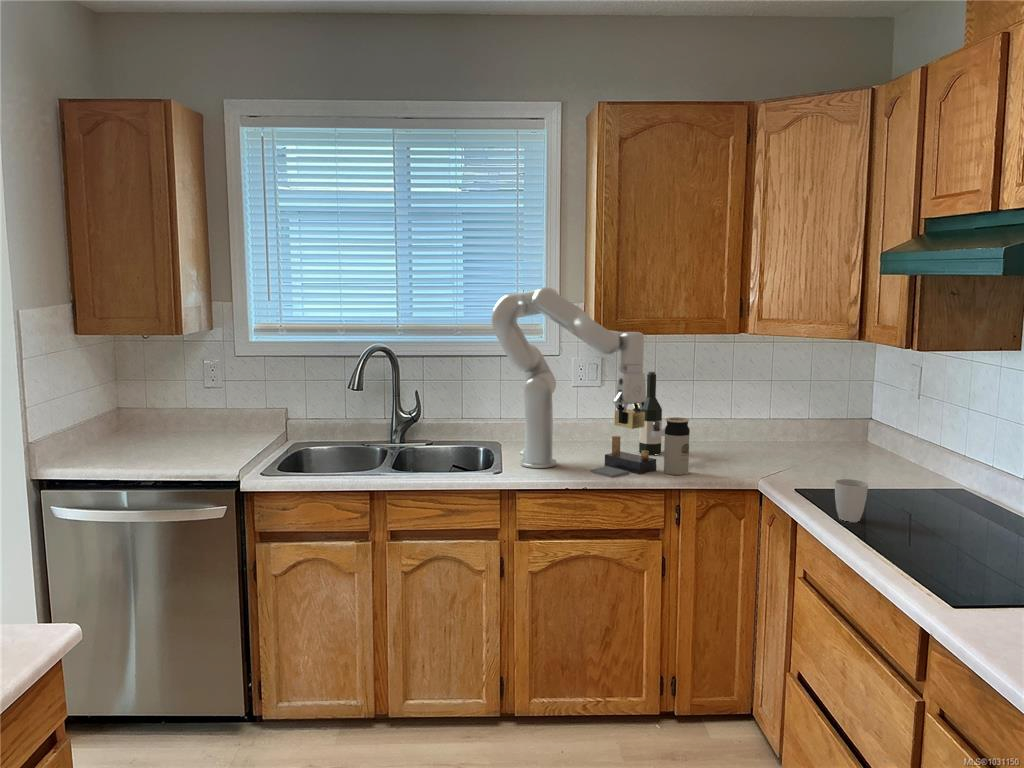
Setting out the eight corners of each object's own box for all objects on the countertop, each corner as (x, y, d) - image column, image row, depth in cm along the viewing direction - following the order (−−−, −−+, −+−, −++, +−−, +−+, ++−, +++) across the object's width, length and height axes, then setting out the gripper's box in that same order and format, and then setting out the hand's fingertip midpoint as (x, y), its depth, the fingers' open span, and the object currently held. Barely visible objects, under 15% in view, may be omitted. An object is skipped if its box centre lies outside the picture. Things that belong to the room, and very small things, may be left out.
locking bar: (650, 436, 278) (650, 422, 278) (680, 430, 288) (680, 417, 288) (655, 437, 276) (656, 423, 276) (685, 431, 286) (685, 418, 286)
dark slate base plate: (604, 465, 275) (605, 437, 274) (620, 462, 280) (621, 434, 279) (639, 474, 263) (640, 444, 261) (656, 470, 268) (656, 441, 266)
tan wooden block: (614, 425, 271) (614, 410, 270) (626, 423, 274) (627, 408, 274) (632, 428, 265) (632, 413, 264) (644, 427, 268) (644, 412, 268)
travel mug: (658, 471, 267) (660, 418, 265) (678, 469, 270) (679, 416, 268) (673, 476, 260) (674, 421, 257) (693, 474, 263) (694, 420, 261)
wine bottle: (635, 454, 294) (637, 372, 290) (642, 449, 301) (644, 370, 297) (657, 456, 290) (659, 373, 286) (664, 452, 297) (666, 371, 293)
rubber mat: (590, 471, 266) (590, 469, 266) (606, 468, 271) (606, 466, 271) (612, 477, 259) (612, 475, 259) (628, 473, 264) (628, 471, 264)
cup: (857, 515, 217) (859, 478, 216) (871, 524, 209) (873, 486, 208) (827, 515, 217) (829, 479, 215) (840, 524, 209) (842, 486, 207)
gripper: (622, 371, 259) (620, 426, 261) (657, 368, 270) (655, 421, 272) (605, 369, 264) (603, 423, 267) (640, 366, 275) (638, 418, 278)
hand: (629, 421), depth 269 cm, fingers closed on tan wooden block, 6 cm apart
